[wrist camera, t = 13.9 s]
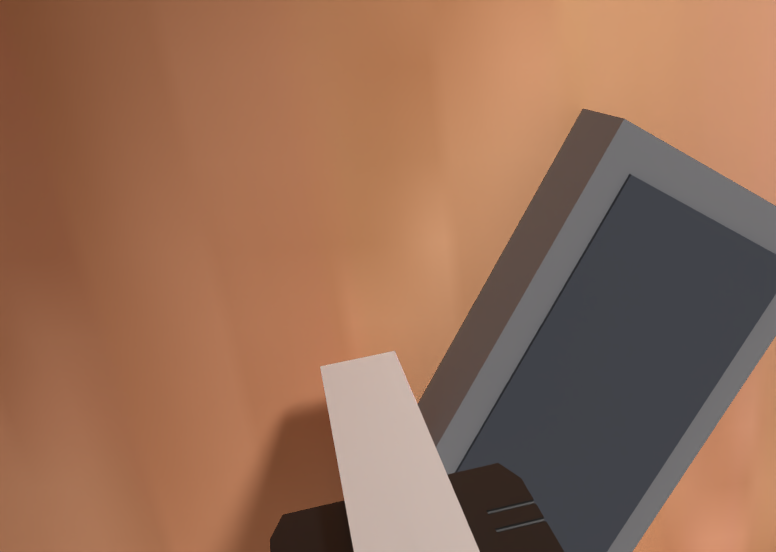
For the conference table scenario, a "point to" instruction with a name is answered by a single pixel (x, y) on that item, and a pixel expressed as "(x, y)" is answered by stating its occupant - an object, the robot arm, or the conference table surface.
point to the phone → (609, 333)
